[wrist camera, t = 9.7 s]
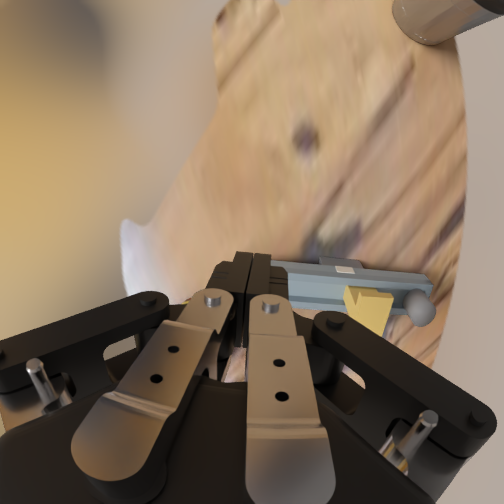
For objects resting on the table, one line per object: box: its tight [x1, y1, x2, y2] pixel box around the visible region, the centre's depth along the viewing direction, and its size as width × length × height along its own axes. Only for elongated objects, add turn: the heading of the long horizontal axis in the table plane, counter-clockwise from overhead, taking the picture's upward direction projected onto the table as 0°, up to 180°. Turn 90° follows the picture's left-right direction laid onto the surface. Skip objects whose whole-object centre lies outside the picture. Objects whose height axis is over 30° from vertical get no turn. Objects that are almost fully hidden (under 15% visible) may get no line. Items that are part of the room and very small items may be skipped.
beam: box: [253, 257, 436, 327], centre depth 39 cm, size 26×5×10 cm, turn 86°
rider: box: [343, 285, 394, 336], centre depth 36 cm, size 4×6×7 cm, turn 176°
